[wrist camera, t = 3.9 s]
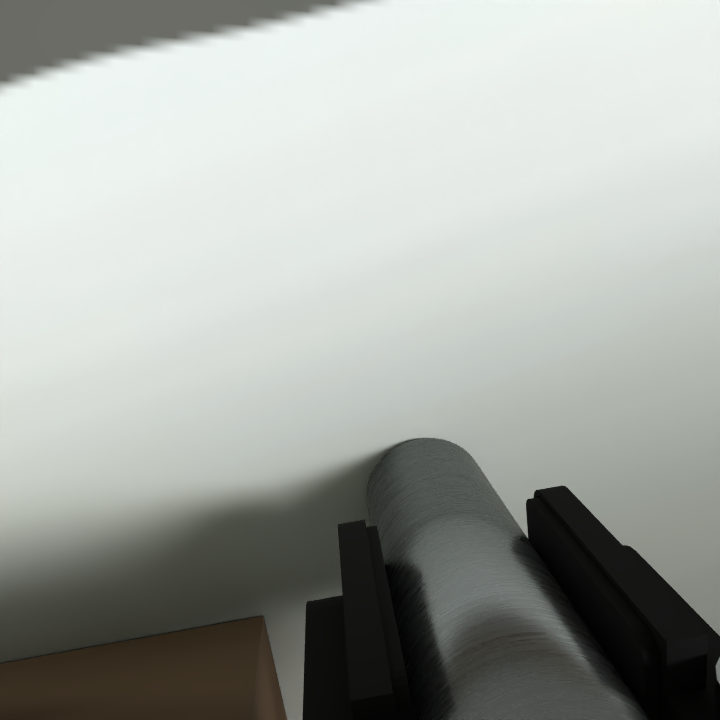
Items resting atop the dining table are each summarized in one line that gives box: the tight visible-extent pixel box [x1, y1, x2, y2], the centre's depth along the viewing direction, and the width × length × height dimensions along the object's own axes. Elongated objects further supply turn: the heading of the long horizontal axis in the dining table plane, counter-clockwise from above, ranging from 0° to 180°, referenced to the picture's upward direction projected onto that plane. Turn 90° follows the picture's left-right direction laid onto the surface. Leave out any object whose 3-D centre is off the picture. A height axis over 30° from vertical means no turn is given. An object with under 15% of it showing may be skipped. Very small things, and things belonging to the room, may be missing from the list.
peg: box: [367, 438, 650, 720], centre depth 8 cm, size 3×3×10 cm
